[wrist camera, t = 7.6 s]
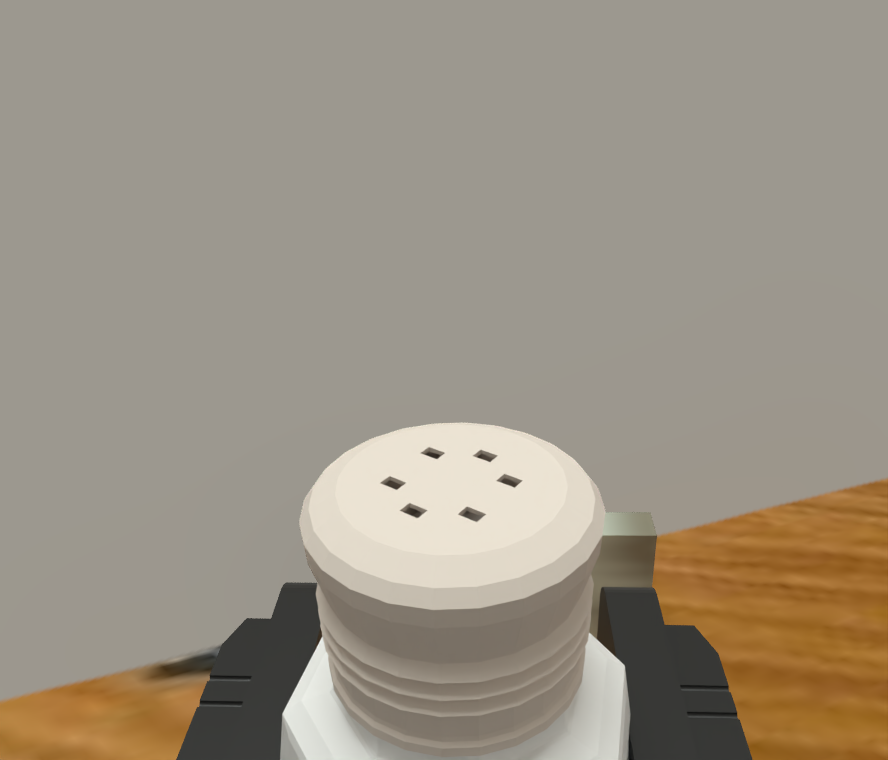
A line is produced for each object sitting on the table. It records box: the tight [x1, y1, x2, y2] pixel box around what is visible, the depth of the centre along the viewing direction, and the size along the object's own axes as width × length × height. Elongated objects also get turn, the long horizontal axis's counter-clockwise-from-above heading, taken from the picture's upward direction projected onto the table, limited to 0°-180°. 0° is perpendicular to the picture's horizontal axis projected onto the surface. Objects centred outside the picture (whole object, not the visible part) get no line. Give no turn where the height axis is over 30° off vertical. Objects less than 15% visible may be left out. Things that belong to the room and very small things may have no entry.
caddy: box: [589, 512, 657, 639], centre depth 28 cm, size 13×16×6 cm
